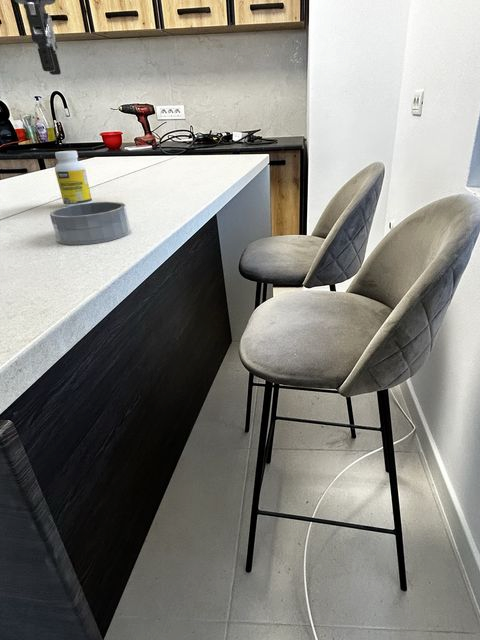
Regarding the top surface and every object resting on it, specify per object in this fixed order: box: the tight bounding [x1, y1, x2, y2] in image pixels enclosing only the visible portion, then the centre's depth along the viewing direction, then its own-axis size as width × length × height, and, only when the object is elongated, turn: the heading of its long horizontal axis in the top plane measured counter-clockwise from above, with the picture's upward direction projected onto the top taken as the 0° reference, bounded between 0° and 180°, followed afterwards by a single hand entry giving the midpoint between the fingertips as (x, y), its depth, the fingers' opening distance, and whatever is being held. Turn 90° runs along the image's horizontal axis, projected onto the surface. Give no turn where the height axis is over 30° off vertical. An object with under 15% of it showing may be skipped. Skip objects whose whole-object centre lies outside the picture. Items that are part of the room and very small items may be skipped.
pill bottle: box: [54, 150, 93, 207], centre depth 100 cm, size 6×6×12 cm
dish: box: [49, 201, 131, 246], centre depth 74 cm, size 12×12×4 cm
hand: (52, 73), depth 88 cm, fingers open, 8 cm apart
